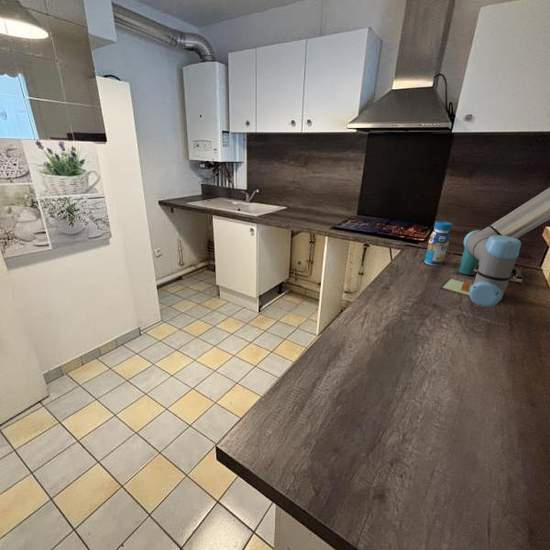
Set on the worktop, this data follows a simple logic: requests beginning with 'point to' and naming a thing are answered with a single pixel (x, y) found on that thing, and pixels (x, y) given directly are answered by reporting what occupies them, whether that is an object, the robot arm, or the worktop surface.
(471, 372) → the worktop surface
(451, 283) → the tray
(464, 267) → the beverage bottle
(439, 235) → the beverage bottle
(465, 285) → the crumb
